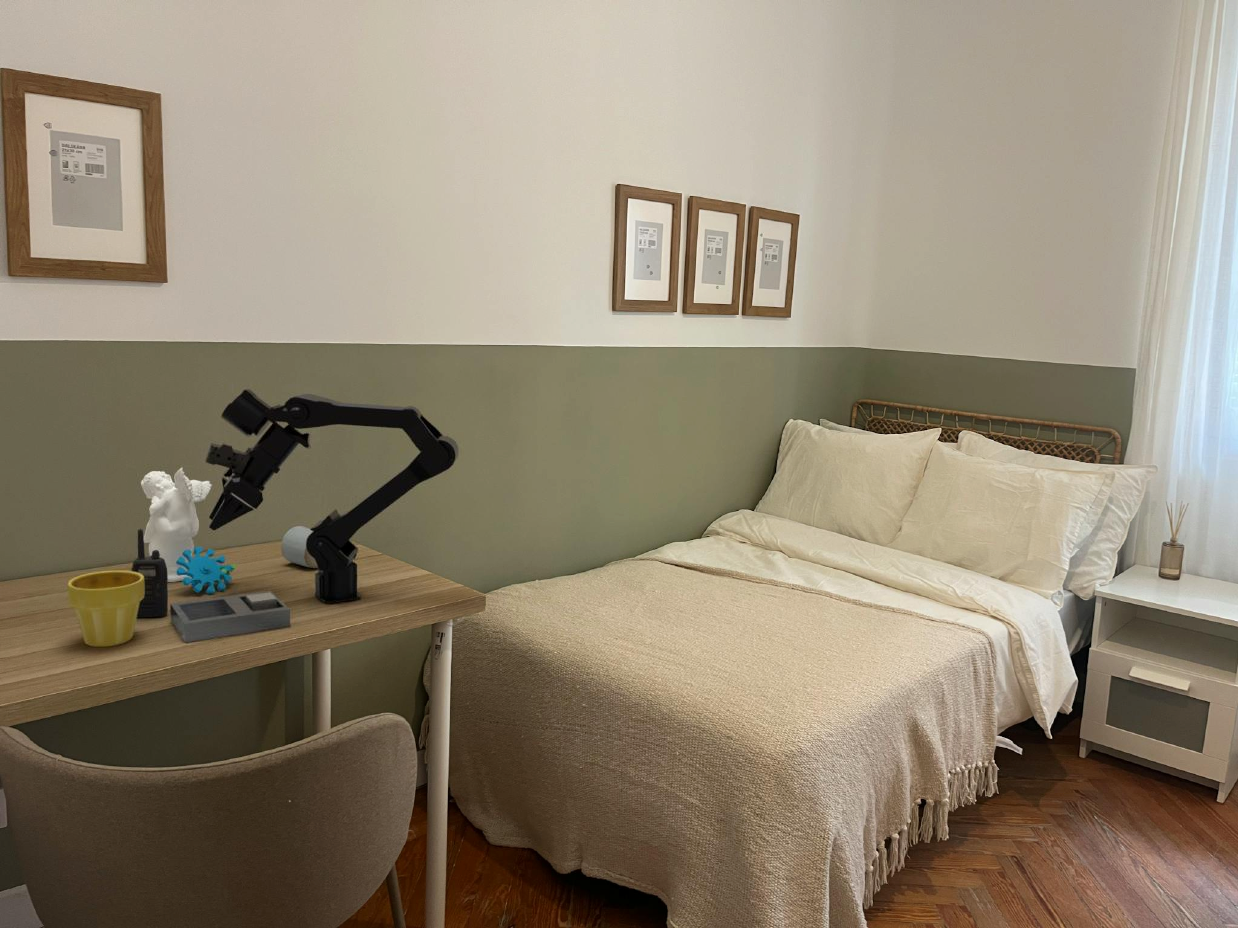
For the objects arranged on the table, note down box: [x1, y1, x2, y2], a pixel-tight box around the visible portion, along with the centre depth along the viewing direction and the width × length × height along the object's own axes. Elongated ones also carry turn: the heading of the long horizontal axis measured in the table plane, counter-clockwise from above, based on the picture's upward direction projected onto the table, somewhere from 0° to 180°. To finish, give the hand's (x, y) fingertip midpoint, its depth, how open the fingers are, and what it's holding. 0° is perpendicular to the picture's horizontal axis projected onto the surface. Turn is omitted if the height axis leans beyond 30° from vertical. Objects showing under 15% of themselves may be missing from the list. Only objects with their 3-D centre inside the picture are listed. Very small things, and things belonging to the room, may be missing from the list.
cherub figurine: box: [140, 467, 213, 583], centre depth 179 cm, size 12×12×22 cm
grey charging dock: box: [169, 590, 291, 643], centre depth 154 cm, size 16×12×3 cm
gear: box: [176, 546, 237, 595], centre depth 173 cm, size 11×6×10 cm
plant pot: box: [66, 570, 145, 648], centre depth 144 cm, size 10×10×10 cm
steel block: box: [246, 592, 278, 611], centre depth 157 cm, size 4×4×4 cm
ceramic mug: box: [280, 525, 318, 569], centre depth 192 cm, size 11×8×8 cm
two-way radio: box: [130, 528, 169, 619], centre depth 156 cm, size 6×4×15 cm
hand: (211, 523), depth 163 cm, fingers open, 9 cm apart
